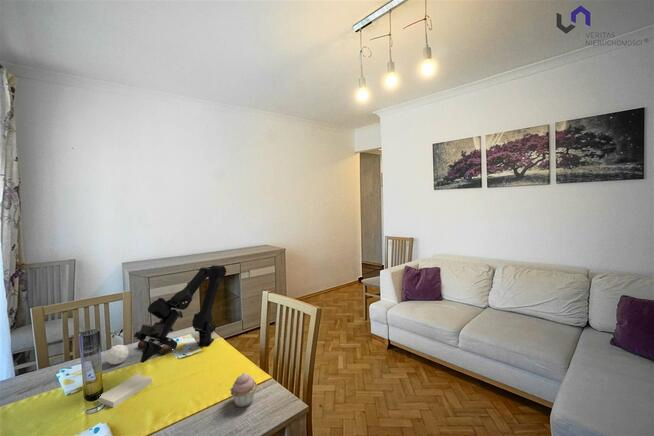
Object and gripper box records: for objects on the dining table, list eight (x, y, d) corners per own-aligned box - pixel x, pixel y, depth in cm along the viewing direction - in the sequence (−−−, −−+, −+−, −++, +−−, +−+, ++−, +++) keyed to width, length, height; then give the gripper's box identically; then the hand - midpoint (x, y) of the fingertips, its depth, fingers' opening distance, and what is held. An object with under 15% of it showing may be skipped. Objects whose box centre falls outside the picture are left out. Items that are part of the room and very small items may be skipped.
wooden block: (137, 373, 110) (98, 396, 97) (151, 378, 107) (113, 402, 94) (137, 379, 110) (98, 402, 97) (151, 383, 108) (113, 408, 94)
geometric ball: (112, 370, 120) (101, 355, 120) (131, 355, 126) (120, 342, 126) (114, 368, 115) (102, 353, 115) (134, 353, 121) (123, 339, 121)
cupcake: (258, 390, 103) (258, 364, 103) (256, 408, 94) (256, 380, 94) (232, 393, 102) (232, 367, 101) (227, 412, 93) (227, 383, 92)
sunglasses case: (179, 346, 135) (173, 338, 131) (168, 360, 129) (161, 352, 126) (153, 339, 141) (146, 331, 138) (142, 352, 136) (134, 344, 132)
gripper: (137, 312, 115) (109, 350, 105) (170, 318, 109) (144, 360, 99) (155, 323, 123) (130, 360, 113) (187, 329, 117) (164, 369, 107)
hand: (141, 362), depth 108 cm, fingers closed
